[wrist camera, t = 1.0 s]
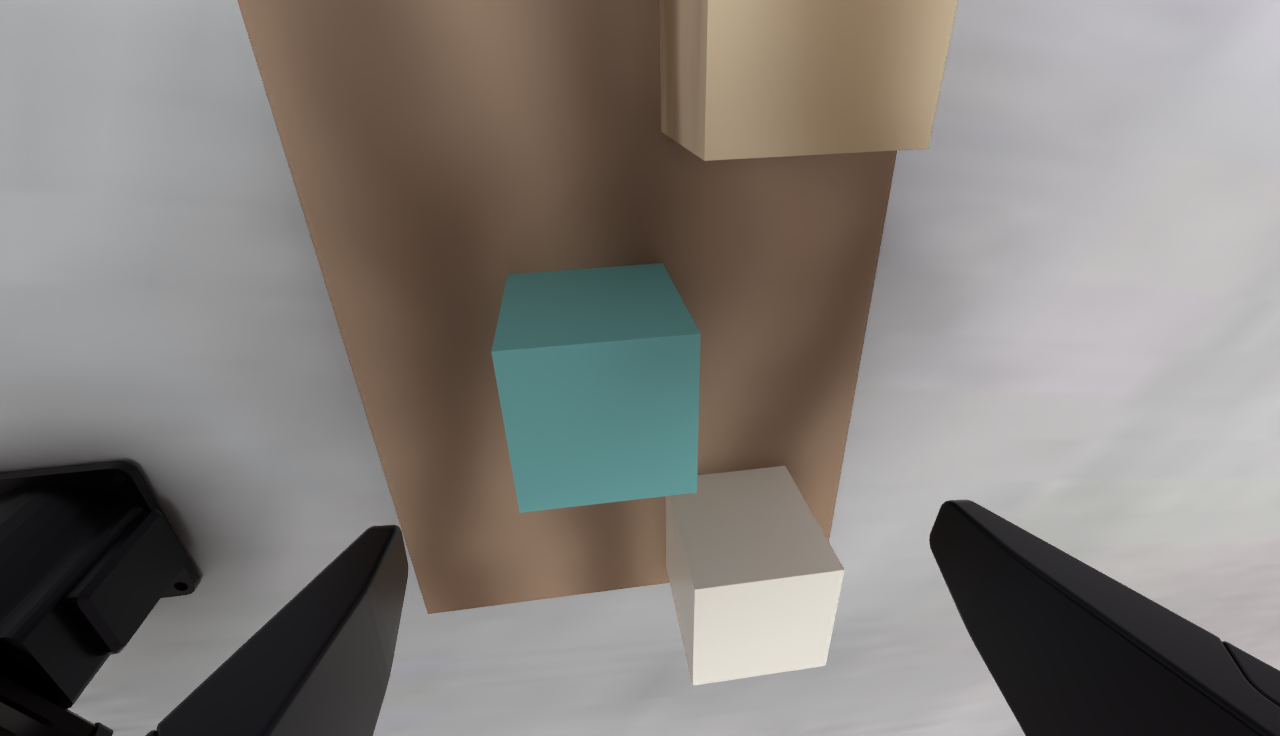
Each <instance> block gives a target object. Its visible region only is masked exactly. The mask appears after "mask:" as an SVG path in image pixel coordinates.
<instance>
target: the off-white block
mask: <svg viewBox="0 0 1280 736" xmlns="http://www.w3.org/2000/svg"><path fill="white" fill-rule="evenodd" d="M665 498H666V568H667V572H668V577H669V581H670V586H671V590H672V595H673V599H674V604H675V608H676V613H677V617H678V622H679V626H680V631H681V635H682V640H683V644H684V649H685V653H686V658H687V662H688V667H689V671H690V676H691V680H692V685H699V684H706V683H713V682H720V681H726V680H733V679H740V678H746V677H753V676H760V675H766V674H773V673H780V672H786V671H793V670H800V669H806V668H813V667H820V666H826V661H827V656H828V651H829V646H830V640H831V635H832V630H833V625H834V620H835V615H836V610H837V605H838V600H839V595H840V590H841V585H842V580H843V575H844V568H843V566H842V564H841V563H840V561H839V559H838V557H837V556H836V554H835V552H834V550H833V549H832V547H831V545H830V543H829V542H828V540H827V538H826V536H825V535H824V533H823V531H822V529H821V528H820V526H819V524H818V522H817V521H816V519H815V517H814V515H813V514H812V512H811V510H810V508H809V507H808V505H807V503H806V501H805V500H804V498H803V496H802V494H801V493H800V491H799V489H798V487H797V486H796V484H795V482H794V480H793V479H792V477H791V475H790V473H789V472H788V470H787V468H786V466H777V467H768V468H759V469H751V470H742V471H733V472H724V473H715V474H706V475H697V493H689V494H681V495H672V496H665Z"/></svg>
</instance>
